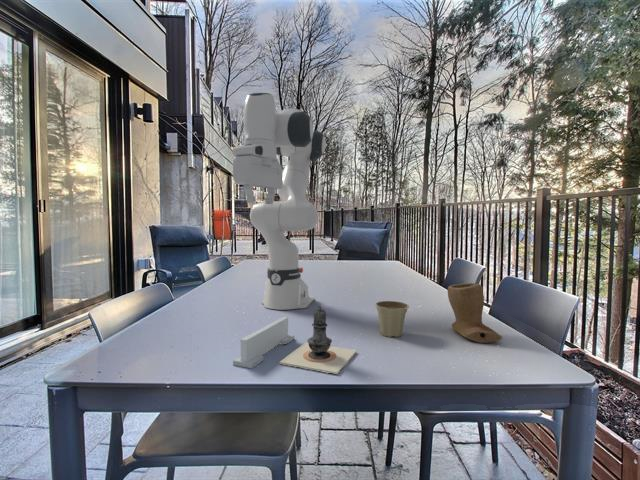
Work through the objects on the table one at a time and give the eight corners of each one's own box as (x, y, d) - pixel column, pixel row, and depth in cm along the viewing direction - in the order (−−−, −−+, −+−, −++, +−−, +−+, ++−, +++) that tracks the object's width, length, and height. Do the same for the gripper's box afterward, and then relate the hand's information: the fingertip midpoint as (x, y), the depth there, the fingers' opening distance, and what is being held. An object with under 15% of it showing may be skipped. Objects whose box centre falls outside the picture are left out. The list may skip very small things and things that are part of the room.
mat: (305, 344, 96) (305, 341, 96) (356, 352, 90) (356, 349, 90) (279, 364, 83) (279, 361, 83) (337, 375, 78) (337, 372, 77)
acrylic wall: (278, 336, 102) (278, 315, 101) (294, 339, 100) (294, 317, 99) (232, 364, 82) (232, 338, 82) (251, 368, 81) (251, 342, 80)
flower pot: (409, 331, 108) (410, 302, 107) (406, 341, 99) (407, 310, 98) (378, 327, 111) (378, 299, 110) (372, 337, 102) (372, 306, 102)
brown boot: (441, 327, 112) (442, 278, 111) (480, 328, 112) (482, 279, 111) (457, 344, 97) (459, 289, 96) (503, 345, 97) (505, 289, 95)
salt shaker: (329, 361, 83) (329, 309, 82) (304, 358, 85) (304, 307, 84) (333, 351, 89) (334, 303, 88) (310, 349, 90) (310, 302, 89)
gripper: (269, 159, 111) (269, 204, 112) (228, 147, 92) (228, 202, 93) (288, 158, 108) (288, 204, 109) (249, 145, 89) (249, 202, 90)
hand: (260, 203), depth 101 cm, fingers open, 8 cm apart
